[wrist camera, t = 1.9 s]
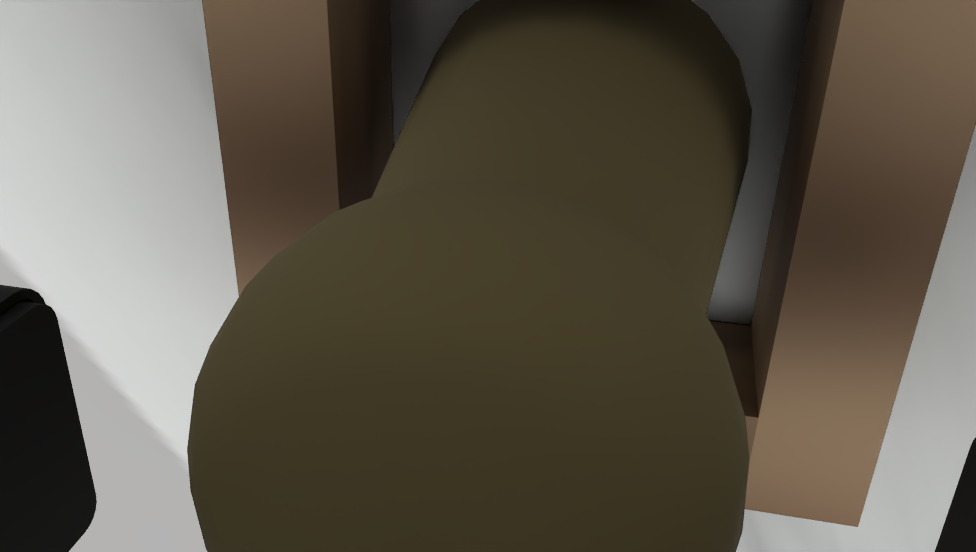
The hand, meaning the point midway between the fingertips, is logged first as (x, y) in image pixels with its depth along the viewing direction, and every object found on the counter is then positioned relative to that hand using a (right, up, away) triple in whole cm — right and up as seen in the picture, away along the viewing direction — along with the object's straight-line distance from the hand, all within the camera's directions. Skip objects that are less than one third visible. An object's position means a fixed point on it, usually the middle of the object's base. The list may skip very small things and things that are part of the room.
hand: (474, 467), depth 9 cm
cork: (+2, +5, +8) cm, 9 cm away
